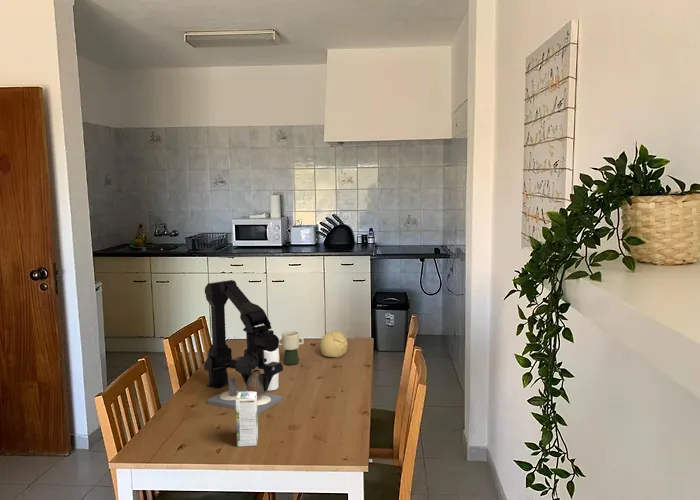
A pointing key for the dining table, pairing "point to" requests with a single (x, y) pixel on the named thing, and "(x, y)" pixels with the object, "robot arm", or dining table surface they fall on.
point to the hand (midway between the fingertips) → (257, 389)
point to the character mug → (291, 346)
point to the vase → (256, 383)
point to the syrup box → (246, 419)
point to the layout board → (231, 394)
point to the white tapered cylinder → (270, 358)
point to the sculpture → (333, 344)
